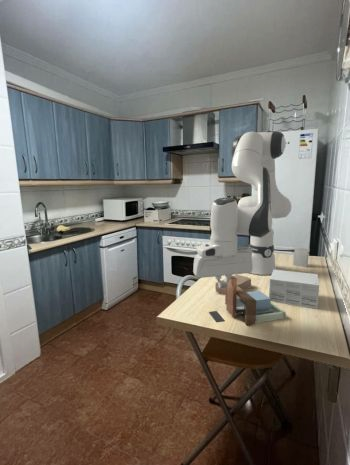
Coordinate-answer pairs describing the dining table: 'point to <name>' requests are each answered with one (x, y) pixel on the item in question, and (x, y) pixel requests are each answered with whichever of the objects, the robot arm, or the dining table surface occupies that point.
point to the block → (260, 300)
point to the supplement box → (294, 288)
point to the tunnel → (250, 306)
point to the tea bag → (300, 257)
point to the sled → (238, 300)
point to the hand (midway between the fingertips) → (222, 287)
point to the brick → (241, 282)
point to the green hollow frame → (271, 314)
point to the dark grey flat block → (216, 316)
